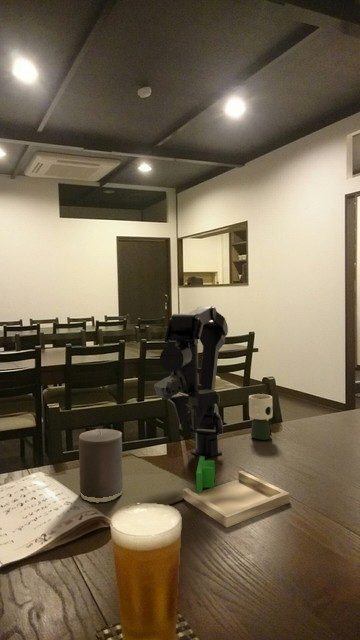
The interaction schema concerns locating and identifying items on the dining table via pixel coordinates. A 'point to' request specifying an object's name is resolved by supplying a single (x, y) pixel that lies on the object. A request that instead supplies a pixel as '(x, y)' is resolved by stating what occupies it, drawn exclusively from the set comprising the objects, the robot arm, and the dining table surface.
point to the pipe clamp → (205, 474)
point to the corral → (238, 499)
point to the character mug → (260, 415)
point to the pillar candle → (100, 463)
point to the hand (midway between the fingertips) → (188, 426)
